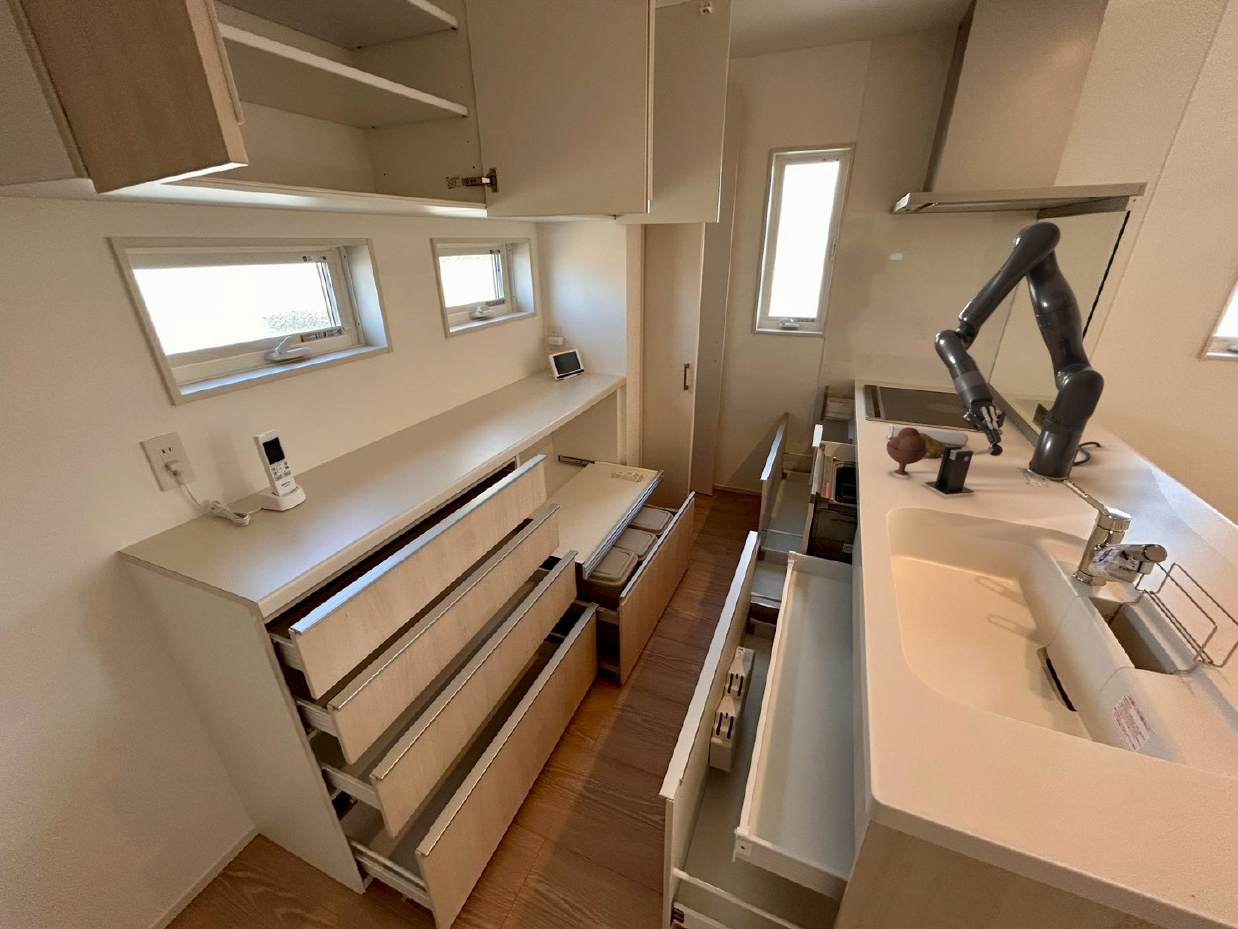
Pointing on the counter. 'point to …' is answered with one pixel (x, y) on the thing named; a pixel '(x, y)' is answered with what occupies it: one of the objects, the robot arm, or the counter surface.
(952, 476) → the upright post with base
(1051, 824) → the counter surface
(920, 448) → the ice cream bowl
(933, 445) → the pear
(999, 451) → the lever
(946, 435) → the tube
